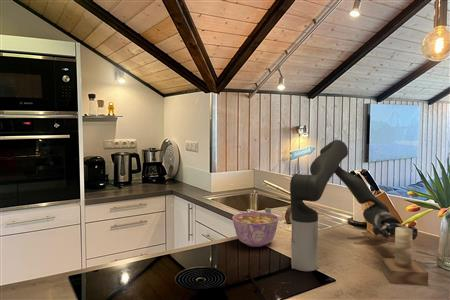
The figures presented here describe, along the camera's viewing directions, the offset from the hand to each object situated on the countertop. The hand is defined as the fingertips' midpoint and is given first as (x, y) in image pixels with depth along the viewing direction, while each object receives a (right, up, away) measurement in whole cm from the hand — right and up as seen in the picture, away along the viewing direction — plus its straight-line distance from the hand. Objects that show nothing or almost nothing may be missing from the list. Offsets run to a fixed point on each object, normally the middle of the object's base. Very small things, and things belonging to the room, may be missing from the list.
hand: (400, 236), depth 119 cm
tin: (-23, -9, +66) cm, 70 cm away
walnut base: (-1, -13, -3) cm, 13 cm away
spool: (-1, -9, -3) cm, 9 cm away
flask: (-39, -10, +53) cm, 66 cm away
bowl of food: (-47, -11, +31) cm, 57 cm away
